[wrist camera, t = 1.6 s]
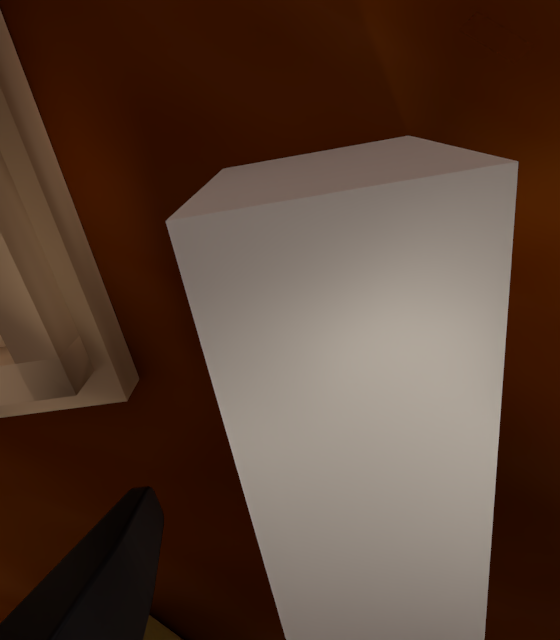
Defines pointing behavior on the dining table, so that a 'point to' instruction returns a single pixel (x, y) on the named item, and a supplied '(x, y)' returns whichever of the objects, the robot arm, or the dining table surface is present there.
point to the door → (360, 374)
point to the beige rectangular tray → (48, 274)
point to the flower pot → (158, 631)
